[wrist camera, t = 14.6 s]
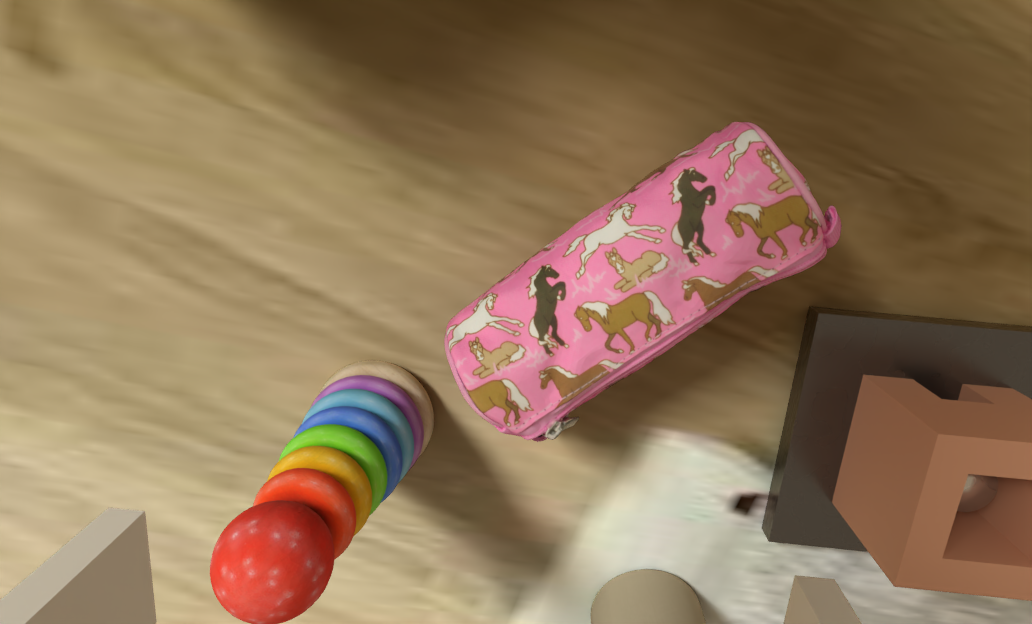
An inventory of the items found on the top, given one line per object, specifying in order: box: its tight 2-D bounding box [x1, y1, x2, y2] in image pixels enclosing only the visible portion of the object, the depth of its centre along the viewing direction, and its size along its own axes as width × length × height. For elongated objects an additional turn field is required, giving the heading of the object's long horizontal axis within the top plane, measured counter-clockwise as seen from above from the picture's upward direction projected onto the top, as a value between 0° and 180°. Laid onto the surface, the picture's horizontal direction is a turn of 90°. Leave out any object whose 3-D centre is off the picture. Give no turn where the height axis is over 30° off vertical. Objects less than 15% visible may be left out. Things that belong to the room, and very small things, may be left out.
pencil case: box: [445, 122, 841, 442], centre depth 36 cm, size 21×9×9 cm, turn 128°
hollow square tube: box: [832, 375, 1032, 601], centre depth 37 cm, size 9×9×8 cm
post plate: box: [762, 307, 1032, 552], centre depth 39 cm, size 16×16×6 cm
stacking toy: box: [210, 360, 434, 624], centre depth 35 cm, size 8×8×19 cm
